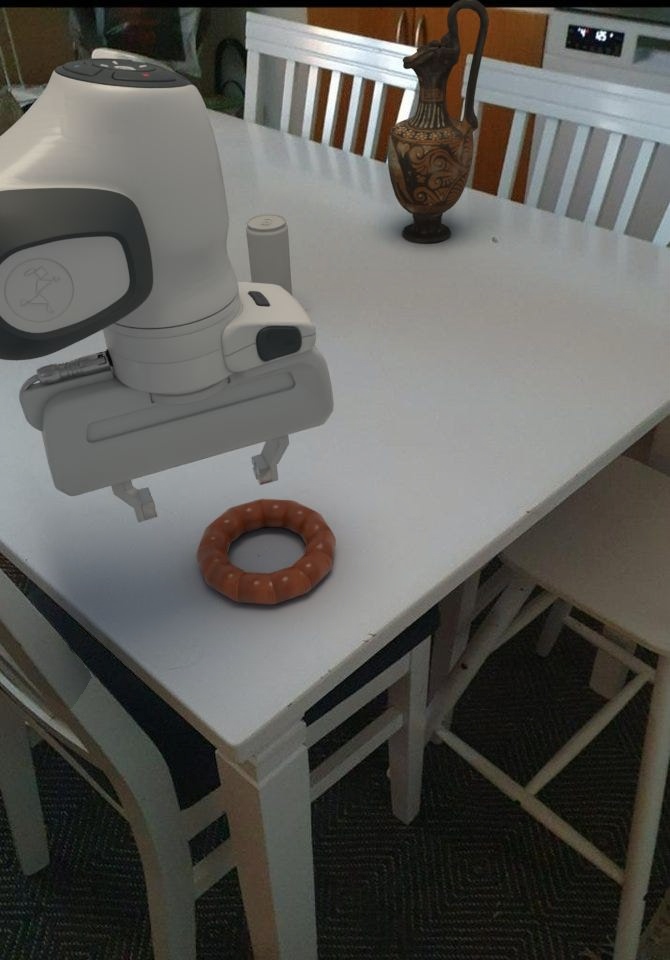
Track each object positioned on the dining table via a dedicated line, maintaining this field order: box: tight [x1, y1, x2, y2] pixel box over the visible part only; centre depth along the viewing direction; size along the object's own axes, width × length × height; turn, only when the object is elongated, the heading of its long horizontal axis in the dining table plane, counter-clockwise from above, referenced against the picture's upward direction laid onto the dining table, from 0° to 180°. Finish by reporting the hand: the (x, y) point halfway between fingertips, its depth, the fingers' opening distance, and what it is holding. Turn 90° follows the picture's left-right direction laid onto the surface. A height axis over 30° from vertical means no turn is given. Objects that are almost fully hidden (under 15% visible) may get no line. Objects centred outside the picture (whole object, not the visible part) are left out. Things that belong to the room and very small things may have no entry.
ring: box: [196, 498, 337, 605], centre depth 67 cm, size 11×11×2 cm
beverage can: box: [245, 213, 293, 296], centre depth 97 cm, size 5×5×12 cm
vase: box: [386, 0, 490, 244], centre depth 108 cm, size 12×12×30 cm
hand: (207, 496), depth 61 cm, fingers open, 8 cm apart
